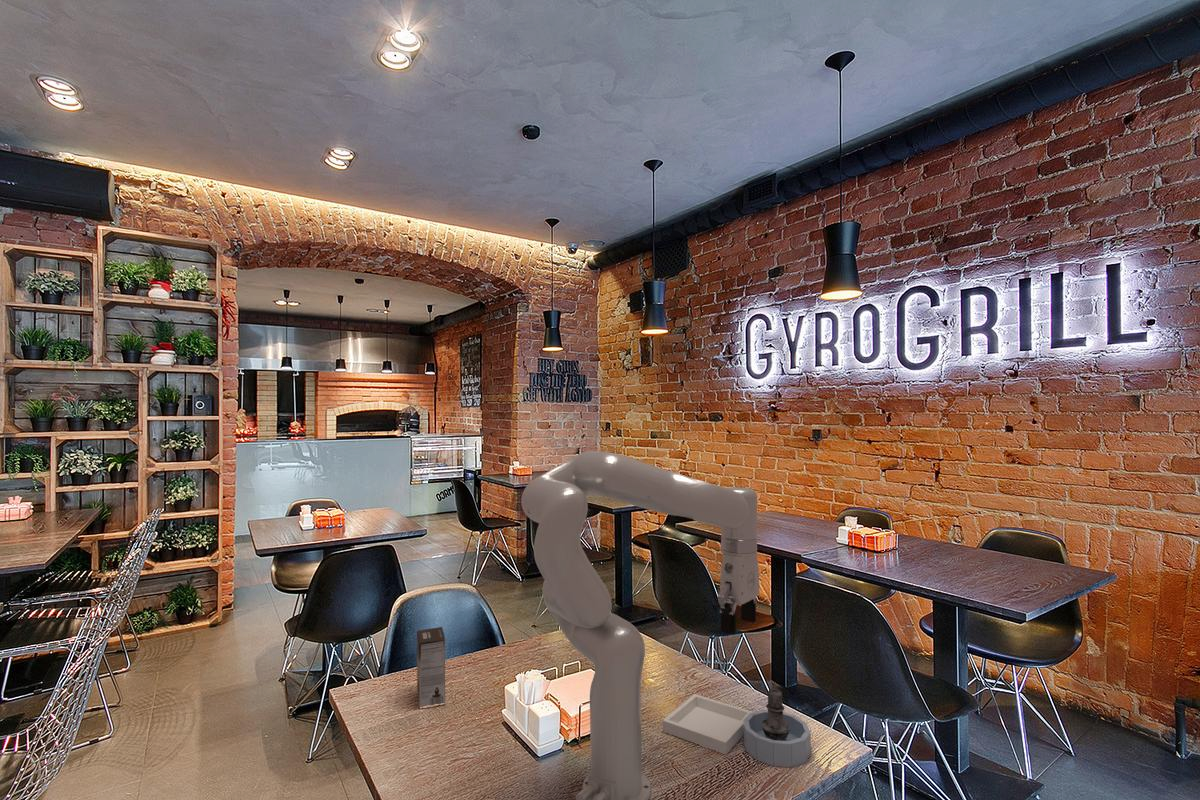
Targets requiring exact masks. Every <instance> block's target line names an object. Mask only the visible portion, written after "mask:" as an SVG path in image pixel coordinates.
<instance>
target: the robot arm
mask: <svg viewBox="0 0 1200 800" xmlns="http://www.w3.org/2000/svg"><path fill="white" fill-rule="evenodd" d="M590 494H591V495H593V496H594V495H595V496H599V497H603V498H607V499H610V500H613V501H617V502H621V503H624V504H628V505H632V506H635V507H638V508H643V509H645V510H648V511H653V512H656V513H661V514H665V515H670V516H675V517H677V516H678V517H682V518H684V517H685V518H688V519H692V520H693V521H696V522H698V523H701V524H705V525H709V526H710V525H711V526H716V527H719V528H720V531H721V532H720V535H721V536H720V542H721V543H720V550H721V551H720V552H721V553H722V558H721V566H720V582H719V583H720V584H719V585H720V586H719V587H720V588H719V590H720V591H719V593H718V594H717V600H718V601H717V602H718V608H719V613H720V631H721V632H722V633H724V634H725V633H726V634H730V635H733V636H734V635H736V634H737V614H735V612H736V608H737V605H738V604H739V605H740V610H741V611H740V615H741V616H740V619H741V621H745V622H750V623H753V624H754V623H756V620H757V602H758V601H757V600H758V599H757V597H758V596H760V573H759V572H760V571H759V560H758V494H757V492H756V491H755V490H754V489H752V488H749V487H739V486H736V487H735V486H733V487H732V486H731V487H723V486H720V485H717V484H715V483H710V482H707V481H704V480H701V479H698V478H693V477H690V476H687V475H684V474H682V473H678V472H676V471H671V470H669V469H665V468H662V467H658V466H656V465H653V464H648V463H647V462H643V461H640V460H638V459H637V460H636V459H634V458H631V457H627V456H625V455H623V454H619V453H615V452H609V451H597V450H588V451H585V452H581V453H579V454H577V455H575V456H574V457H571V458H570V459H568V460H566V461H565V462H563V463H561V464H559V465H557V466H555V467H554V468H552V469H549V470H548V471H547V472H545V473H543V474H541V475H539V476H537V477H536V478H534V479H532V480H531V481H530V482H529V483H528V484H527V485H526V486H525V488H524V490H523V492H522V494H521V502H520V504H521V507H522V511H523V513H524V514H525V515H526V516H527V518H529V519H530V520H532V521H533V522H535V523H537V524H538V526H537V529H536V533H535V539H534V543H533V556H534V560H535V564H536V566H537V569H538V570H539V573H540V574H541V576H542V578H543V579H544V581H543V582H542V583H543V584H542V589H541V591H542V598H543V601H544V604H545V606H546V608H547V610H548V611H549V613H550V614H551V616H552V618H553V619H554V621H555V622H556V623H557V625H558V627H559V628H560V630H561V631H562V632H563V634H564V635H565V637H566V638H567V640H568V641H569V642H570V644H571V645H572V646H573V648H574V649H576V651H577V652H579V653H580V654H581V655H582V656H584V657H585V658H586V659H588V660H589V661H590V662H591V663H593V664H594V673H593V674H594V675H593V678H592V680H591V683H590V690H589V729H590V730H589V732H590V733H589V734H590V735H589V736H590V741H589V743H590V772H589V773H588V775H587V776H586V777H585V778H584V780H583V782H582V789H581V790H580V791H579V792H578V793H577V794H576V795H575V800H649V799H650V796H651V792H652V791H651V790H652V789H651V788H652V787H651V781H650V780H649V778H648V777H647V775H646V774H644V772H643V762H642V761H643V755H642V753H643V752H642V749H643V747H642V746H643V745H642V703H641V702H642V701H641V700H642V693H641V691H642V690H641V689H642V688H641V687H642V674H643V668H644V667H643V666H644V662H645V657H646V654H645V653H646V646H645V641H644V637H643V636H642V634H641V632H640V631H639V629H638V628H637V627H636V626H635V625H633V624H632V623H631V622H630V621H628V620H626V619H624V618H622V617H621V616H619V615H617V614H615V613H613V612H612V606H613V605H612V598H611V594H610V591H609V590H608V587H607V586H606V584H605V582H603V580H602V579H601V577H600V575H599V574H598V572H597V571H596V570H595V568H594V566H593V564H592V563H591V562H590V560H589V558H588V556H587V554H586V552H585V550H584V549H583V547H582V543H581V537H582V530H583V528H584V524H585V522H586V519H587V516H588V509H589V507H588V499H587V496H588V495H590ZM730 604H731V605H730Z"/></svg>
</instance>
